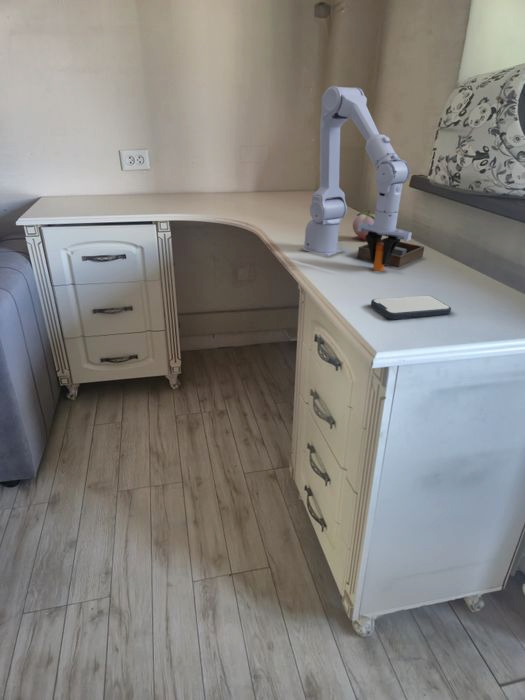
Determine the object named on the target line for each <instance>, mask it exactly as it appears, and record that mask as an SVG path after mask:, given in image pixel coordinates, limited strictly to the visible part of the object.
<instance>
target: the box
mask: <svg viewBox="0 0 525 700" xmlns="http://www.w3.org/2000/svg"><path fill="white" fill-rule="evenodd" d="M385 238H386V237H385ZM385 238H381V241H380V243H384V242H383V239H385ZM396 247H400V248H404V249H407V250H406V254H403V255H401V256H398V255H393V254H391V257H390V259H389V262H388V264H385V265H387V266H390V267H395V268H401V267H403V266H405V265H408V264H410V263H412V262H414V261H416V260H419V259H421V258H423V256H424V252H425V246H422V245H417V244H413V243H408V242H405V241H404V242H403V241H400V242H399V243H398V244H397V246H396ZM357 258H358V259H361V260H362V259H363V260H366V261H370V262H371V257H370V250H369V246H368V243H366V244H364V245H361V246H358V251H357Z"/></svg>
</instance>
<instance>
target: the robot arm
mask: <svg viewBox="0 0 525 700" xmlns="http://www.w3.org/2000/svg"><path fill="white" fill-rule="evenodd" d="M320 98H321V101H320V102H321V107H320V108H321V109H320V110H321V111H320V112H321V115H320V121H319V122H320V123H319V124H320V125H319V188H318V189H317V190H316V191H315V192H314V193H313V194H312V195H311V204H310V207H309V214H310V217H311V220H309V221H308V222H307V224H306V227H305V231H304V232H305V234H304V235H305V236H304V246H303V248H302V251H305V252H312V253H317V254H320V255H324V256H331V255H335V254H337V253H340V252H343V249H341V248H338V242H339V233H340V232H339V231H340V223H342V219H344V218H345V216H346V215H347V211H348V207H347V206H348V205H347V202H346V194H345V192H344V191H343V190H342V189H341V188H340V163H341V160H340V157H341V155H340V152H341V127H342V126H343V125H344V124H345V123H346V122H347V121H349V120H350V119H351V121H353V123H354V125H355V126H356V128H357V129H358V131H359V132H360V134H361V135H362V137H363V139H364V140H365V141H366V144H365V149H364V150H365V151H366V153H367V156H368V157H369V159H370V161H371V163H372V164H373V166H374V168H375V170H376V171H375V172H374V178H375V182H376V184H377V185H376V191H377V198H376V205H375V211H374V214H375V219H374V224H366V223H360V224H358V231H360V232H361V231H364V232H368V235H366V236H365V239H366V241H365V242H366V244H368V246H369V250H370V257H371V261H370V262H372V263H374V259H375V252H376V250H375V249H376V243H380V241H381V239H383V242H384V253H383V259H382V264H383V265H384V266H385V265H386V264H388V262H389V259H390V257H391V254H392V252H393V250H394V249H395V247H396V246H397V244H398V243H399V242H401V240H402V241H404V242H409V241H411V240H412V236H413V235H412V233H413V232H411V231H408V230H403V229H402V228H401V229H400V228H398V227H397V222H398V216H399V211H400V203H401V198H402V192H403V191H402V190H403V185H404V184H405V183H406V182H407V181H408V179H409V177H410V167H409V165H408V162H407V161H405V160H404V159H400V157H399V155H398V154H397V153H396V151H395V150H394V148H393V146H392V145H391V143H390V142H391V139H390V138H389V136H386V135H385V134H380V132H379V130H378V128H377V126H376V124H375V122H374V119H373V117H372V115H371V113H370V111H369V109H368V106H367V103H368V98H367V97H366V95H365V93H364V91H363V89H362V88H360V87H348V86H347V87H346V86H345V87H344V86H336V85H331V86H329V87H327V89H326V90H325V92H324V93H323V95H322V96H321V97H320ZM383 237H385V239H384V238H383Z"/></svg>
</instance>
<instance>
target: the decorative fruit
mask: <svg viewBox="0 0 525 700" xmlns="http://www.w3.org/2000/svg"><path fill="white" fill-rule="evenodd" d="M370 212H371V211H370V210H369V209H368V212H365V211H364V212H359V213H357V214H356V217H355V218H354V220H353V222H352V229H353V232H354V233H355V235H356V236H357V237H358V238H359V239H361V240H362V241H365V242H367V241H366V239H365V236H366V235H368V232H364V231H361V232H360V231H358V224H360V223H366V224H374V219H375V213H370Z"/></svg>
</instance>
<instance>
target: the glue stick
mask: <svg viewBox="0 0 525 700" xmlns="http://www.w3.org/2000/svg"><path fill="white" fill-rule="evenodd" d="M375 250H376V252H375V259H374V262H373V267H372V270H373V271H375V272H383V271H384V269H385V265H383V264H382V259H383V253H384V243H376V249H375Z"/></svg>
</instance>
